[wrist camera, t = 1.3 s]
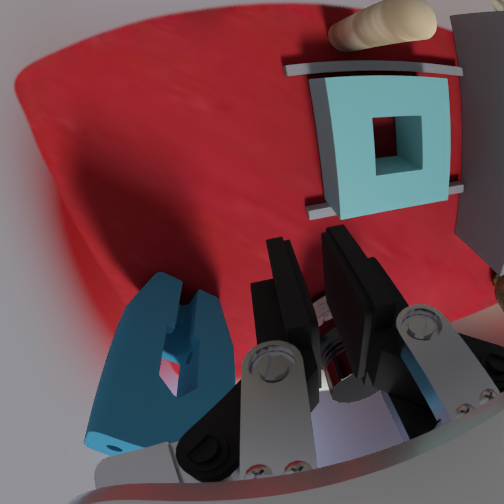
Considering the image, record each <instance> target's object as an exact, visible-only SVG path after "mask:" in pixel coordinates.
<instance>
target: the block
mask: <svg viewBox="0 0 504 504" xmlns="http://www.w3.org/2000/svg"><path fill="white" fill-rule="evenodd" d="M182 284H183V282H182V281H181V280H179V279H177V278H175V277H172V276H170V275H168V274H166V273H164V272H158V273H156V274H155V275H154V276H153V277H152V278H151V279H150V280H149V281H148V282H147V283H146V285H145V286H144V287H143V288H142V289H141V290H140V291H139V292H138V293H137V295H136V296H135V297H134V298H133V299H132V300H131V301H130V302H129V304H128V305H127V306H126V308H125V310H124V312H123V314H122V317H121V319H120V321H119V324H118V326H117V329H116V332H115V335H114V337H113V340H112V344H111V346H110V349H109V353H108V356H107V359H106V362H105V365H104V368H103V372H102V375H101V378H100V382H99V385H98V389H97V393H96V396H95V399H94V403H93V407H92V411H91V415H90V419H89V423H88V427H87V431H86V435H85V440H84V444H85V445H86V446H87V447H89V448H91V449H93V450H96V451H99V452H101V453H104V454H107V455H110V456H115V455H119V454H123V453H127V452H131V451H135V450H139V449H143V448H146V447H150V446H153V445H157V444H160V443H163V442H168V443H169V444H171V443H174V442H177V441H179V440H180V438H181V437H182V436H183V435H184V434H185V433H186V432H187V431H188V430H189V429H190V428H191V427H192V426H193V425H194V424H195V423H197V422H198V421H199V420H200V419H201V418H202V417H203V416H204V415H205V414H206V413H207V412H208V411H209V410H210V409H211V408H212V407H214V406H215V405H216V404H217V403H218V402H219V401H220V400H221V399H222V398H223V397H224V396H225V395H226V394H227V393H228V392H229V391H230V390H231V389H232V388H233V387H234V386H235V363H234V347H233V343H232V340H231V337H230V334H229V330H228V327H227V324H226V321H225V317H224V314H223V311H222V307H221V304H220V301H219V299H218V298H217V297H216V296H213V295H211V294H209V293H207V292H205V291H202V290H200V289H199V290H198V291H197V293H196V294H195V296H194V297H193V299H192V300H191V302H190V303H189V304H187V305H180V304H179V300H180V295H181V289H182ZM161 358H164V359H166V360H169V361H171V362H174V363H177V364H179V365H180V370H179V379H178V389H177V397H176V396H174V395H173V394H172V393H171V391H170V390H169V388H168V387H167V386H166V384H165V383H164V381H163V380H162V379H161V377H160V376H159V370H160V364H161Z"/></svg>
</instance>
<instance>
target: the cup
mask: <svg viewBox="0 0 504 504" xmlns="http://www.w3.org/2000/svg"><path fill="white" fill-rule="evenodd" d="M492 284H493V286H495V290H494V292H495V297H496V300H497V302H498V303H499V305H500V307H501V308H502V310H503V311H504V275H502V276H499V275H498V274H497V273H496V272H495V273H494V275H493V277H492Z"/></svg>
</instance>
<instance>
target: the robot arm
mask: <svg viewBox="0 0 504 504" xmlns="http://www.w3.org/2000/svg"><path fill="white" fill-rule="evenodd" d="M321 238H322V251H323V265H324V280H325V296H326V301H327V305H328V307H329V310H330V312H331V315H332V317H333V320H334V322H335V325H336V328H337V330H338V333H339V335H340V338H341V341H342V343H343V346H344V348H345V351H346V354H347V357H348V359H349V362H350V365H351V367H352V370H353V373H354V375H355V377H356V378H360V377H361V379H362V381H363V384H364V386H366V385H369V384H372V385H373V387H374V388H377V389H379V390H380V391H381V395H382V397H383V400H384V402H385V404H386V406H387V408H388V410H389V412H390V414H391V416H392V419H393V421H394V423H395V425H396V427H397V429H398V432H399V434H400V436H401V438H402V440H403V443H401V444H398V445H396V446H393V447H390V448H387V449H384V450H382V451H379V452H376V453H373V454H370V455H366V456H363V457H360V458H356V459H353V460H350V461H346V462H342V463H338V464H334V465H330V466H326V467H322V468H317V461H316V451H315V443H314V436H313V428H312V421H311V412H312V410H313V409H314V408H315V407H316V405H317V404H318V402H319V388H321V356H320V335H319V325H318V320H317V316H316V312H315V309H314V307H313V304H312V301H311V298H310V295H309V292H308V289H307V286H306V284H305V281H304V278H303V275H302V272H301V270H300V267H299V264H298V261H297V259H296V256H295V253H294V250H293V248H292V245H291V242H290V240H285V241H284V240H283V238H282V237H278V238H273V239H268V240H266V243H267V249H268V254H269V259H270V264H271V269H272V274H273V279H269V280H264V281H259V282H254V283H251V294H252V303H253V311H254V320H255V329H256V338H257V346H255V347H253V348H252V349H251V350H250V351H249V352H248V353H247V354H246V356H245V357H244V359H243V363H242V369H241V380H240V381H239V382H238V383H237V384H236V385H235V386H234V387H233V388H232V389H231V390H230V391H229V392H228V393H227V394H226V395H225V396H224V397H223V398H222V399H221V400H220V401H219V402H218V403H217V404H216V405H215V406H214V407H212V408H211V409H210V410H209V411H208V412H207V413H206V414H205V415H204V416H203V417H202V418H201V419H200V420H199V421H198V422H197V423H195V424H194V425H193V426H192V427H191V428H190V429H189V430H188V431H187V432H186V433H185V434H184V435H183V436H182V437H181V438H180V440H179V441H177V442H174V443H171V444H169V443H168V442H163V443H160V444H157V445H153V446H150V447H146V448H143V449H139V450H135V451H131V452H127V453H123V454H119V455H115V456H110V457H107V458H105V459H103V460H102V461H101V462H100V463H99V464H98V465H97V467H96V470H95V475H94V480H95V486H96V489H95V490H92V491H88V492H86V493H84V494H81V495H79V496H77V497H76V498H74V499H73V500H72V501H71V502H69V504H504V347H502V346H499V345H496V344H493V343H489V342H486V341H483V340H480V339H476V338H473V337H470V336H467V335H463V334H460V333H457V331H456V330H455V329H454V328H453V326H452V325H451V324H450V323H449V321H448V320H447V319H446V318H445V316H444V315H443V314H442V313H441V312H440V311H439V310H437V309H435V308H434V307H432V306H428V305H424V304H416V305H411V306H409V305H408V304H407V302H406V301H405V299H404V298H403V296H402V295H401V293H400V292H399V290H398V289H397V288H396V286H395V285H394V283H393V282H392V280H391V279H390V277H389V276H388V275H387V273H386V272H385V270H384V269H383V268H382V266H381V265H380V263H379V262H378V261H377V259H376V258H374V257H370V258H367V257H366V255H365V254H364V252H363V251H362V249H361V248H360V247H359V245H358V244H357V242H356V241H355V240H354V238H353V237H352V236H351V234H350V233H349V231H348V230H347V229H346V227H345V226H344V225H338V226H333V227H328V228H327V229H326V232H325V233H322V234H321Z"/></svg>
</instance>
